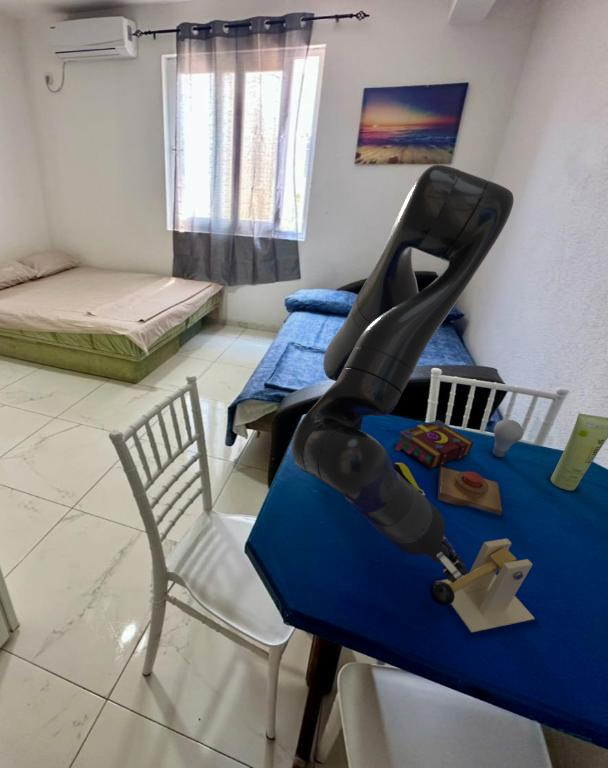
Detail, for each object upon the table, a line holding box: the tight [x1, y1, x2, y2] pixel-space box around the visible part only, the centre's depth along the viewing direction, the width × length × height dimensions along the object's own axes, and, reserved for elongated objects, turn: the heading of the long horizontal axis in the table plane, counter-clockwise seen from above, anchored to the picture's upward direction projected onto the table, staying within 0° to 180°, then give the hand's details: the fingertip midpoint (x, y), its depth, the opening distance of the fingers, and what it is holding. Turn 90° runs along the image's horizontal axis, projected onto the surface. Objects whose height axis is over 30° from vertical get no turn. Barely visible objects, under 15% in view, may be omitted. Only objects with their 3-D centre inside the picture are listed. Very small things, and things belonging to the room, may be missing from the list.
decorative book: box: [394, 419, 474, 469], centre depth 106 cm, size 11×16×5 cm
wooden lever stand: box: [435, 538, 535, 633], centre depth 67 cm, size 12×9×13 cm
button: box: [463, 471, 484, 488], centre depth 91 cm, size 4×4×2 cm
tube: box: [550, 413, 608, 491], centre depth 93 cm, size 6×5×20 cm
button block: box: [437, 466, 503, 516], centre depth 92 cm, size 12×10×4 cm
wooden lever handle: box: [429, 547, 518, 607], centre depth 65 cm, size 14×4×4 cm
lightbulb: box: [492, 418, 524, 458], centre depth 104 cm, size 6×6×11 cm
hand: (454, 561), depth 62 cm, fingers closed
